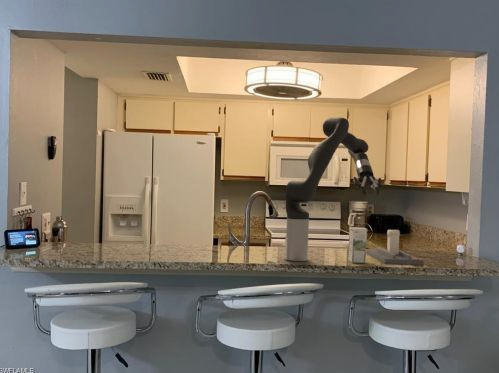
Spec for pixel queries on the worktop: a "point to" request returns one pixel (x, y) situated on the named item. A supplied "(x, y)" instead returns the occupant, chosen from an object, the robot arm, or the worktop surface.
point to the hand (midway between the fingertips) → (370, 194)
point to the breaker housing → (394, 257)
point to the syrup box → (357, 244)
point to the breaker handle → (393, 241)
